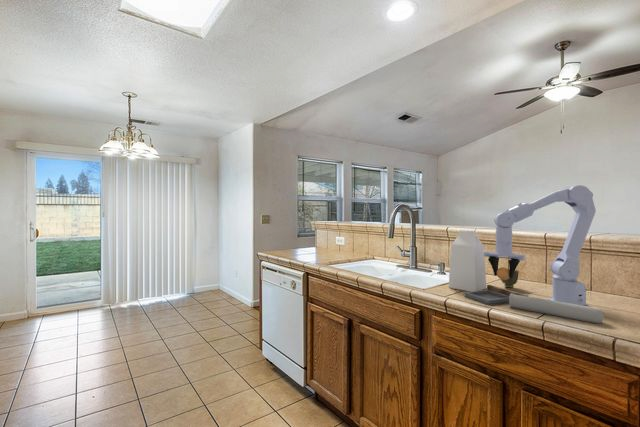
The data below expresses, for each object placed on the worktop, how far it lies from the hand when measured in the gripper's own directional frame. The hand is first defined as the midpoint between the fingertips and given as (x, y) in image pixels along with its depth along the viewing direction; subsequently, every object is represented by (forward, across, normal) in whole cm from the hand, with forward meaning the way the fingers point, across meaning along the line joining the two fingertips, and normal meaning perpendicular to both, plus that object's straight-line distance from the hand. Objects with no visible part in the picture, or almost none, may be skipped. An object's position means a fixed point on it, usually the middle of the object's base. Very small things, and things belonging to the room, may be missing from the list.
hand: (503, 276), depth 125 cm
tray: (+9, +3, +7) cm, 12 cm away
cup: (+9, +4, -20) cm, 22 cm away
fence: (+8, -1, -1) cm, 9 cm away
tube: (+9, -19, +10) cm, 23 cm away
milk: (+9, +17, -6) cm, 20 cm away
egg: (-1, 0, 0) cm, 1 cm away
